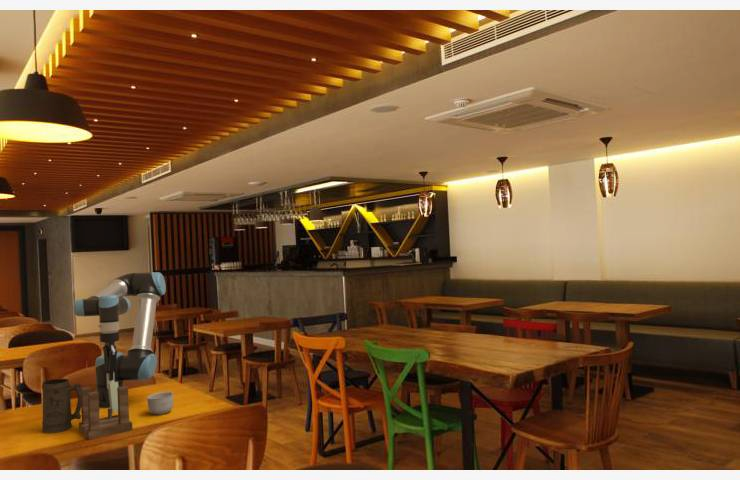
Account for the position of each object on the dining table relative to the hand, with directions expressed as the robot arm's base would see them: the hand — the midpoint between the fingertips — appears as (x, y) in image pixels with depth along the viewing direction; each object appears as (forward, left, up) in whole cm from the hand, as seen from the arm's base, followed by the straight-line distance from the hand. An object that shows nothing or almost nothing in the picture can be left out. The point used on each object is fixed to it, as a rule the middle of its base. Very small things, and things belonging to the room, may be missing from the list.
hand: (110, 387), depth 242 cm
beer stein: (-6, -17, -14) cm, 23 cm away
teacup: (+1, +21, -14) cm, 25 cm away
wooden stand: (+10, -5, -14) cm, 18 cm away
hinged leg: (+5, 0, -9) cm, 10 cm away
